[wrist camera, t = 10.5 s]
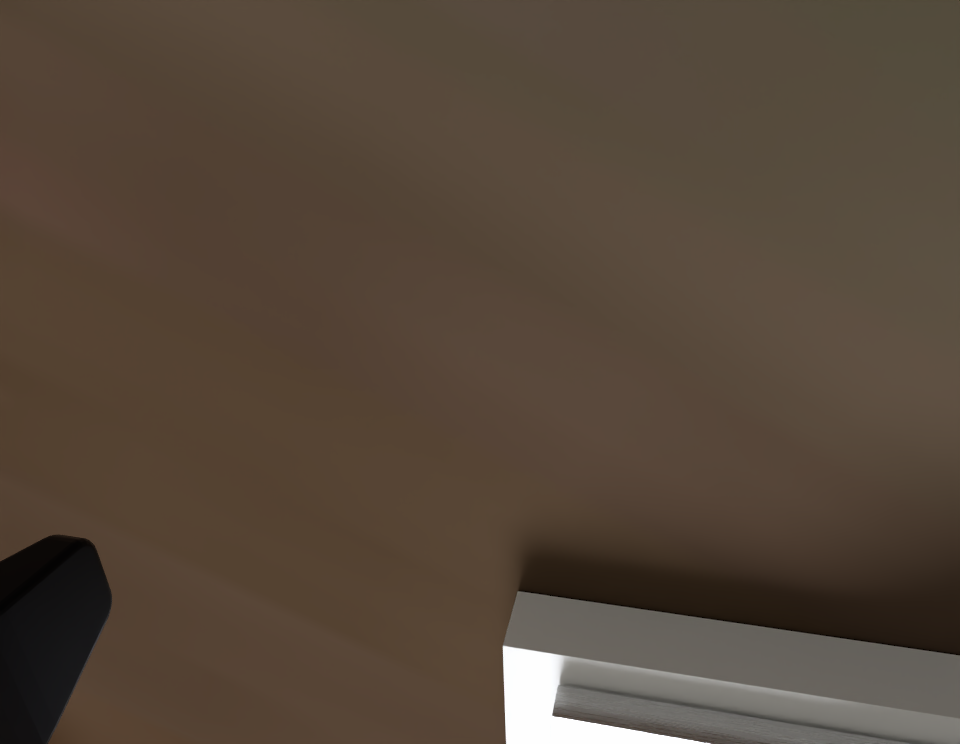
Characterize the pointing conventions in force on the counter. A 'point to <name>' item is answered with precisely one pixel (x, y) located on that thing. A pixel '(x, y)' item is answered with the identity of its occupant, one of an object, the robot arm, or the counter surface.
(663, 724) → the pan
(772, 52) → the counter surface
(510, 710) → the scale
